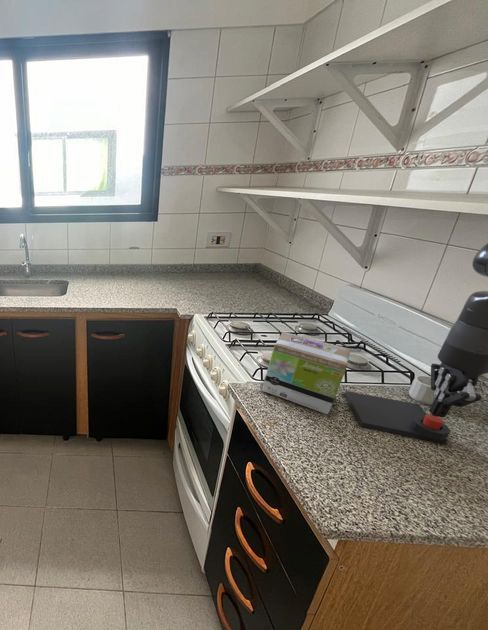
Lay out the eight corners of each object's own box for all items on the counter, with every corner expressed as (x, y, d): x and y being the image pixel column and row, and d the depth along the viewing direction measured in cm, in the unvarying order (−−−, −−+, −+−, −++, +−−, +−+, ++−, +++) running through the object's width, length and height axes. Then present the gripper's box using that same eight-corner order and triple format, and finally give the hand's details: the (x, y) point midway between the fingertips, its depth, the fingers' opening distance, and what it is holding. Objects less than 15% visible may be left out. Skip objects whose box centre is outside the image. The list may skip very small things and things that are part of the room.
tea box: (260, 392, 92) (273, 343, 86) (269, 376, 99) (281, 329, 93) (329, 416, 83) (348, 363, 77) (333, 396, 90) (351, 346, 84)
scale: (418, 408, 85) (423, 398, 84) (450, 447, 74) (456, 436, 72) (344, 394, 91) (347, 385, 90) (362, 428, 79) (366, 418, 78)
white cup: (433, 394, 90) (441, 378, 88) (446, 408, 85) (455, 391, 83) (403, 389, 93) (410, 373, 91) (414, 402, 87) (422, 386, 85)
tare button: (435, 423, 77) (439, 416, 76) (442, 431, 74) (446, 424, 73) (419, 420, 78) (423, 412, 77) (425, 428, 75) (429, 420, 74)
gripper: (524, 364, 61) (478, 439, 68) (477, 333, 72) (442, 400, 79) (468, 356, 64) (429, 429, 70) (431, 327, 75) (401, 393, 82)
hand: (436, 414), depth 75 cm, fingers closed
